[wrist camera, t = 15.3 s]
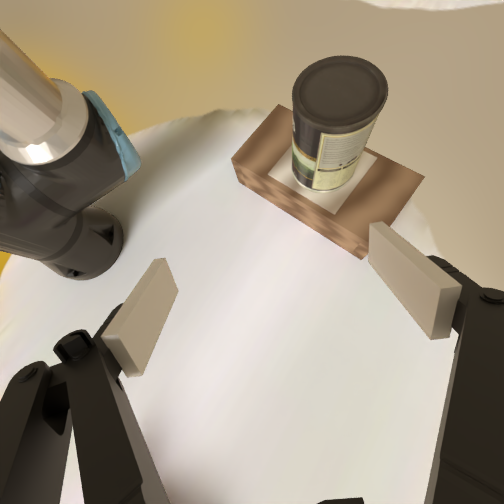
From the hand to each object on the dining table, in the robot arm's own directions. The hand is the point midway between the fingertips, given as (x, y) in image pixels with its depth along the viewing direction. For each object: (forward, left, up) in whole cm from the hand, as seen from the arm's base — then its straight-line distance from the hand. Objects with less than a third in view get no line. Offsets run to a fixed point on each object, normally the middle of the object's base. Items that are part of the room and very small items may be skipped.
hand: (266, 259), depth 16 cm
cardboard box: (-7, +21, -29) cm, 37 cm away
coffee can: (-7, +21, -21) cm, 31 cm away
